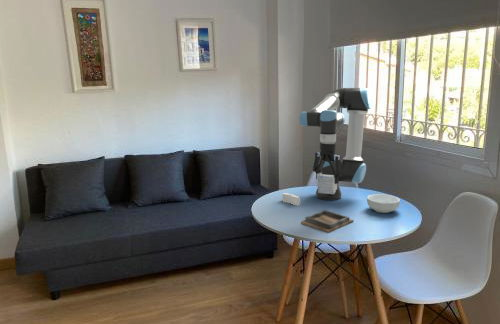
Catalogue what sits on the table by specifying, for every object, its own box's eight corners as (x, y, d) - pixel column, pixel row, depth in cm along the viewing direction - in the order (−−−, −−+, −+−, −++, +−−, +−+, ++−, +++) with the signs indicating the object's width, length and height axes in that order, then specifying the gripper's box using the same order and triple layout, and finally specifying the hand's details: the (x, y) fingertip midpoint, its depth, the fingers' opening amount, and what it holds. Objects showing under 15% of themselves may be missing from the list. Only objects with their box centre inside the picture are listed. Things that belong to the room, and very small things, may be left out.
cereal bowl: (401, 217, 208) (402, 203, 206) (367, 215, 211) (368, 202, 209) (396, 206, 224) (397, 194, 222) (365, 205, 227) (366, 193, 226)
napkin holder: (278, 201, 239) (277, 191, 237) (296, 199, 241) (296, 190, 240) (285, 209, 224) (285, 199, 223) (304, 207, 226) (304, 197, 225)
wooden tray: (325, 213, 215) (326, 208, 214) (353, 221, 202) (353, 216, 202) (300, 223, 202) (301, 218, 201) (328, 232, 189) (328, 227, 189)
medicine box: (335, 192, 199) (336, 175, 198) (333, 194, 195) (333, 177, 194) (320, 190, 203) (320, 173, 201) (317, 193, 199) (317, 175, 197)
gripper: (305, 140, 199) (305, 185, 204) (341, 146, 184) (340, 193, 188) (315, 139, 204) (314, 182, 209) (351, 144, 188) (349, 190, 193)
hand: (326, 187), depth 199 cm, fingers closed on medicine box, 9 cm apart
